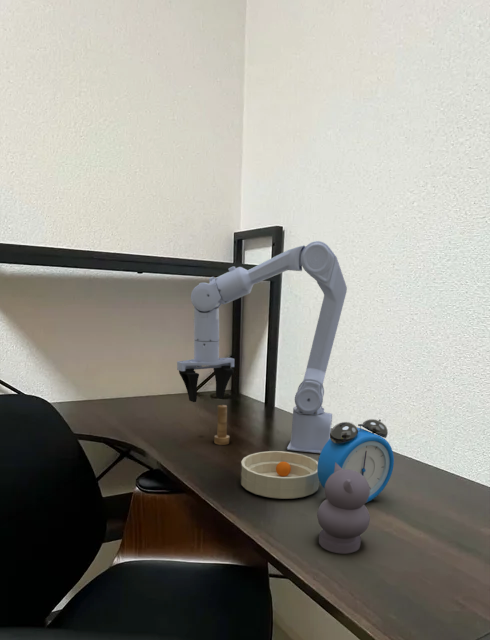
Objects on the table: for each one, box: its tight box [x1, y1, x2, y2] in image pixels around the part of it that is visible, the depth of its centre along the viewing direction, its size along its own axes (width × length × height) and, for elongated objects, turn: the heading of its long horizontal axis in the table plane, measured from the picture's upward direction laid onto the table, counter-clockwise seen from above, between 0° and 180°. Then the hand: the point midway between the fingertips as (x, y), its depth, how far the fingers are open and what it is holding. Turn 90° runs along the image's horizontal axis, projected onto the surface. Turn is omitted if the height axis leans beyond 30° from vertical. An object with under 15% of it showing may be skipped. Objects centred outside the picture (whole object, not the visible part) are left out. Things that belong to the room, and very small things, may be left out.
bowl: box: [240, 450, 320, 500], centre depth 100 cm, size 15×15×4 cm
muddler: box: [213, 404, 230, 446], centre depth 123 cm, size 4×4×9 cm
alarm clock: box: [317, 418, 395, 504], centre depth 93 cm, size 13×6×15 cm, turn 118°
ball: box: [276, 462, 291, 476], centre depth 104 cm, size 3×3×3 cm
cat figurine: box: [316, 462, 371, 554], centre depth 78 cm, size 8×8×12 cm
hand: (206, 399), depth 123 cm, fingers open, 7 cm apart
